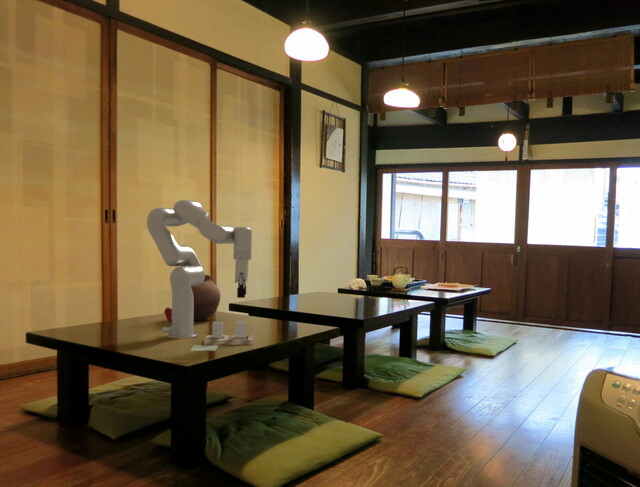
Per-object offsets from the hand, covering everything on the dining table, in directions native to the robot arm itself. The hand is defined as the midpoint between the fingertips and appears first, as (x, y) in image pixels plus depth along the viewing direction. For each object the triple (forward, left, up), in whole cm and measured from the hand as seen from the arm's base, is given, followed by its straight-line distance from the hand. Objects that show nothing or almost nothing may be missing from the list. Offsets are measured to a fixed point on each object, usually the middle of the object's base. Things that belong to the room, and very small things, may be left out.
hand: (241, 296), depth 231 cm
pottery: (-26, +61, -20) cm, 69 cm away
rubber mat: (-14, -11, -20) cm, 27 cm away
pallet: (-5, 0, -20) cm, 21 cm away
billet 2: (0, 0, -20) cm, 20 cm away
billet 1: (-10, 0, -20) cm, 23 cm away
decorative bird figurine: (-33, +41, -20) cm, 56 cm away
